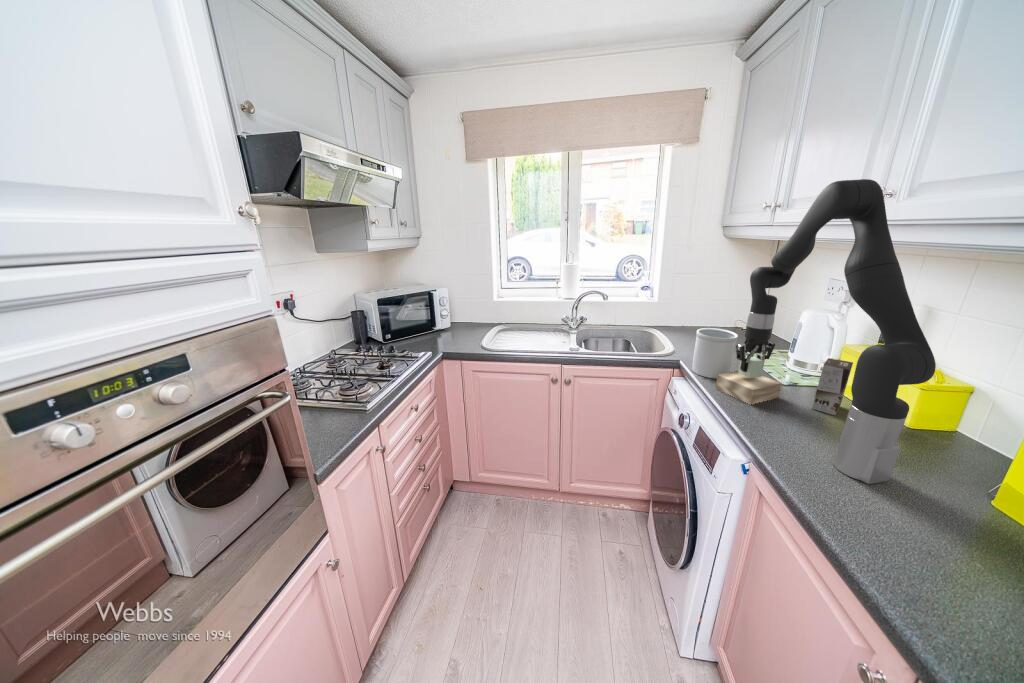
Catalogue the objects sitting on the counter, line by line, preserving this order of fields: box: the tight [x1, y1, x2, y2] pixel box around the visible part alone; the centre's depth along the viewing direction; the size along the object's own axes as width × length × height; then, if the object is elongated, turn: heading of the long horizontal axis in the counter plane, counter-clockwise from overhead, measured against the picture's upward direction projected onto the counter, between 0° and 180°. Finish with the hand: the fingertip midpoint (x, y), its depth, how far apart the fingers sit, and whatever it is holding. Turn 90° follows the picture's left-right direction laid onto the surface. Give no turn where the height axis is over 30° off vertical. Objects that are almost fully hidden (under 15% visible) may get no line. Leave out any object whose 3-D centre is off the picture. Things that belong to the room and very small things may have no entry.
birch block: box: [714, 370, 783, 406], centre depth 128 cm, size 14×14×6 cm
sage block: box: [737, 356, 766, 378], centre depth 126 cm, size 5×5×6 cm
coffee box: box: [811, 357, 854, 416], centre depth 115 cm, size 9×6×16 cm
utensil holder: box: [691, 327, 739, 379], centre depth 145 cm, size 15×15×18 cm
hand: (750, 370), depth 126 cm, fingers closed on sage block, 5 cm apart
